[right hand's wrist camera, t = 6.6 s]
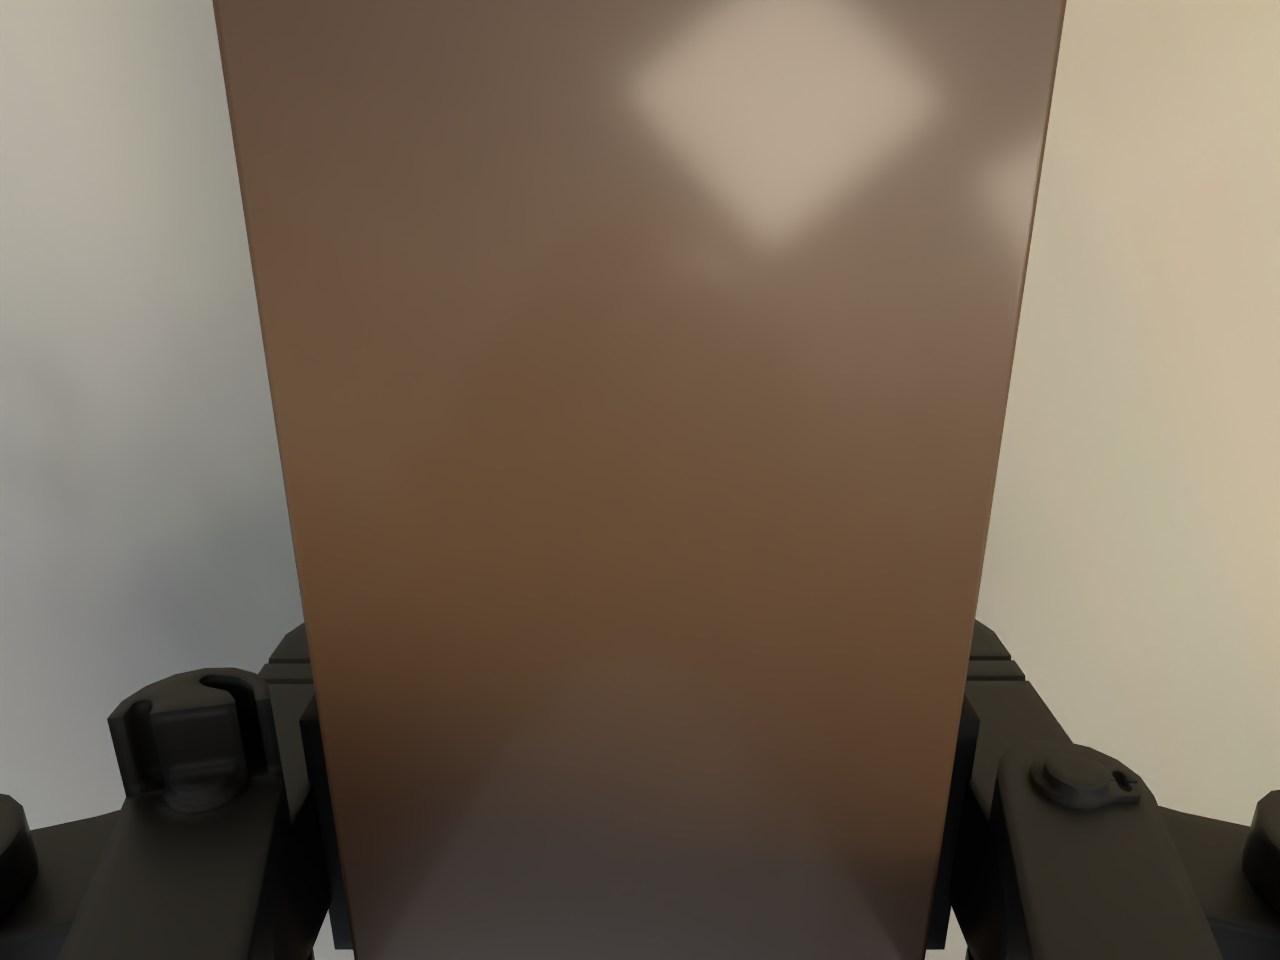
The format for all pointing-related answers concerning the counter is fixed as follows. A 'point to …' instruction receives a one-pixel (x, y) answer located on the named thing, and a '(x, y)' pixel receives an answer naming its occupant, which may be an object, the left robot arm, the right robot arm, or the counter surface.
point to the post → (639, 448)
